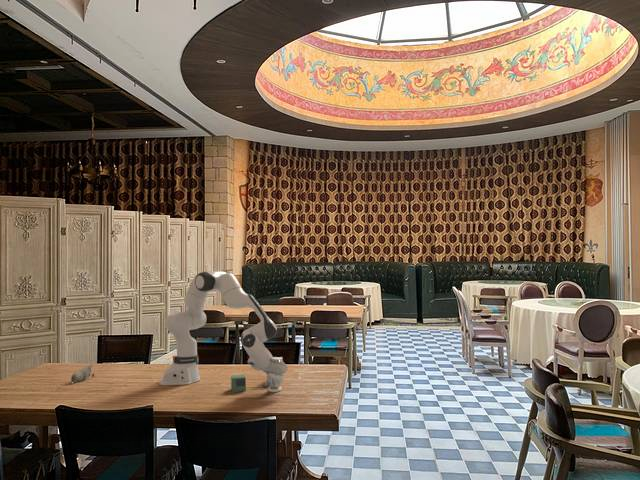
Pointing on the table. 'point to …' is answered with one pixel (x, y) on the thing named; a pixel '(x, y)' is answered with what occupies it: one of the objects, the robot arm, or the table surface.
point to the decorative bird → (81, 374)
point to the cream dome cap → (275, 389)
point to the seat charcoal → (267, 385)
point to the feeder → (238, 383)
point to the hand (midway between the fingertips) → (275, 373)
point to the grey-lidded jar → (274, 380)
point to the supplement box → (279, 375)
